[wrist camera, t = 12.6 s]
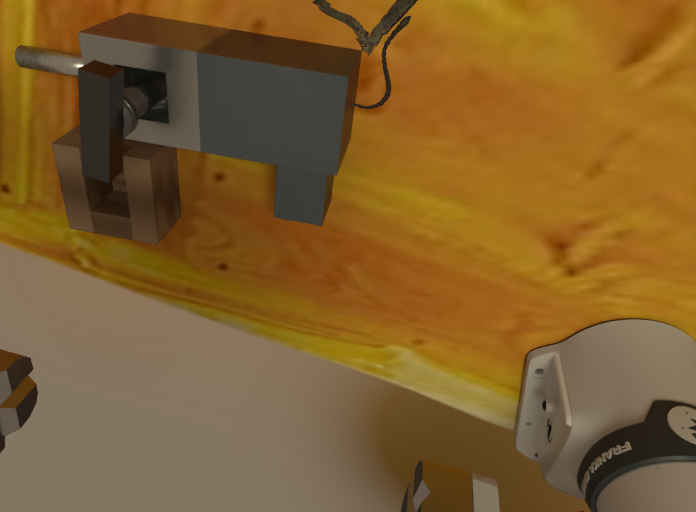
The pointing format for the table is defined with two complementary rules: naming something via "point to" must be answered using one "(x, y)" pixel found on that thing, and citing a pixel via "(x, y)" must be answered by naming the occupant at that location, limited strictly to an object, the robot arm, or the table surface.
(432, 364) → the table surface
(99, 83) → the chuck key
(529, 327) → the table surface
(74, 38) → the table surface
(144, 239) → the brown square ring block
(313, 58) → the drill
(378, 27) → the forked twig branch
